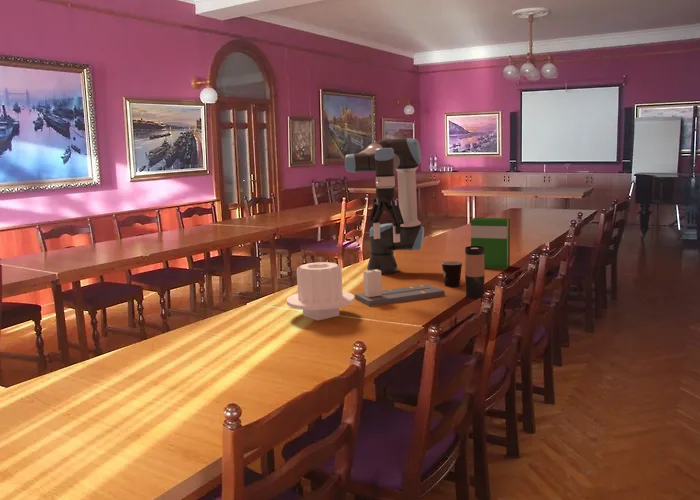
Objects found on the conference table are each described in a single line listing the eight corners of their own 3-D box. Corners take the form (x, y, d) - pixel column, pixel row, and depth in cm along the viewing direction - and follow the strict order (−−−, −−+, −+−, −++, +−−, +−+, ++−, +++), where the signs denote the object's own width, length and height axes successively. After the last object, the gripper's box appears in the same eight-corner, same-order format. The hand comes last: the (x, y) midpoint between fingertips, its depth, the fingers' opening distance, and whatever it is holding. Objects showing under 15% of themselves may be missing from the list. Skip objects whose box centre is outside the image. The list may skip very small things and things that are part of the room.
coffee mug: (461, 287, 267) (461, 265, 265) (441, 287, 268) (441, 265, 267) (462, 281, 278) (462, 260, 276) (443, 281, 280) (442, 260, 278)
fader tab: (364, 295, 250) (363, 270, 249) (377, 293, 253) (376, 268, 251) (368, 297, 247) (367, 272, 245) (382, 295, 249) (381, 270, 247)
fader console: (355, 298, 255) (354, 293, 254) (427, 288, 267) (427, 283, 267) (369, 306, 242) (368, 300, 241) (444, 295, 255) (444, 290, 254)
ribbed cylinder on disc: (275, 315, 234) (272, 266, 230) (329, 303, 248) (326, 257, 245) (312, 329, 214) (309, 275, 211) (368, 315, 229) (366, 265, 226)
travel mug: (485, 294, 254) (485, 246, 251) (483, 298, 247) (483, 249, 244) (466, 293, 257) (466, 245, 253) (463, 297, 250) (463, 248, 246)
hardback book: (509, 266, 308) (510, 218, 304) (506, 269, 302) (507, 220, 298) (474, 264, 316) (474, 217, 312) (471, 267, 309) (470, 219, 305)
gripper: (360, 187, 254) (361, 238, 257) (396, 188, 233) (397, 244, 236) (375, 185, 258) (376, 236, 261) (412, 187, 237) (413, 242, 240)
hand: (386, 240), depth 249 cm, fingers open, 13 cm apart
